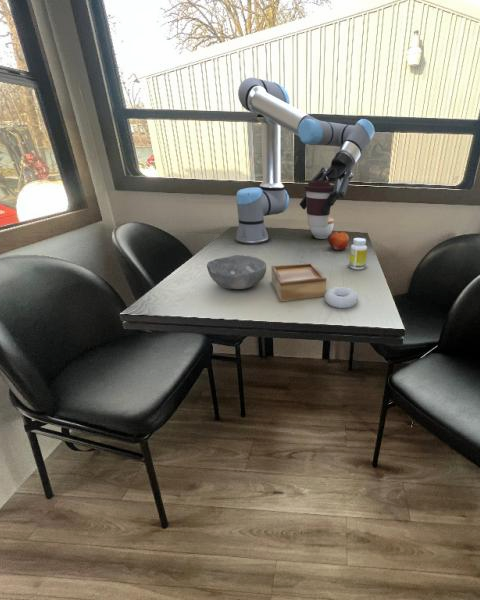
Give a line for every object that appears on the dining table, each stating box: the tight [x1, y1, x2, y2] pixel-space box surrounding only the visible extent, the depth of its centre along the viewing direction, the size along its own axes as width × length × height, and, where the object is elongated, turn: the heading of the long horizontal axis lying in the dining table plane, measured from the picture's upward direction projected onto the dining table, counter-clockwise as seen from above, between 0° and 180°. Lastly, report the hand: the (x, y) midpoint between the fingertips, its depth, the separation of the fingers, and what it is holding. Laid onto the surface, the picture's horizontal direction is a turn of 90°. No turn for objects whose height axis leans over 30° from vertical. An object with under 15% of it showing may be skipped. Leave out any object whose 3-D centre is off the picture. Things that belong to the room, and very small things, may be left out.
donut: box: [323, 286, 359, 309], centre depth 88 cm, size 10×4×10 cm
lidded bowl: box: [309, 217, 335, 240], centre depth 151 cm, size 13×13×11 cm
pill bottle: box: [349, 237, 368, 270], centre depth 113 cm, size 6×6×11 cm
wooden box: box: [270, 262, 327, 302], centre depth 94 cm, size 14×14×6 cm
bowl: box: [206, 254, 267, 290], centre depth 94 cm, size 18×18×8 cm
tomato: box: [328, 230, 350, 251], centre depth 134 cm, size 9×9×8 cm
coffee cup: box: [304, 179, 334, 227], centre depth 103 cm, size 10×10×15 cm
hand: (312, 209), depth 102 cm, fingers closed on coffee cup, 10 cm apart
